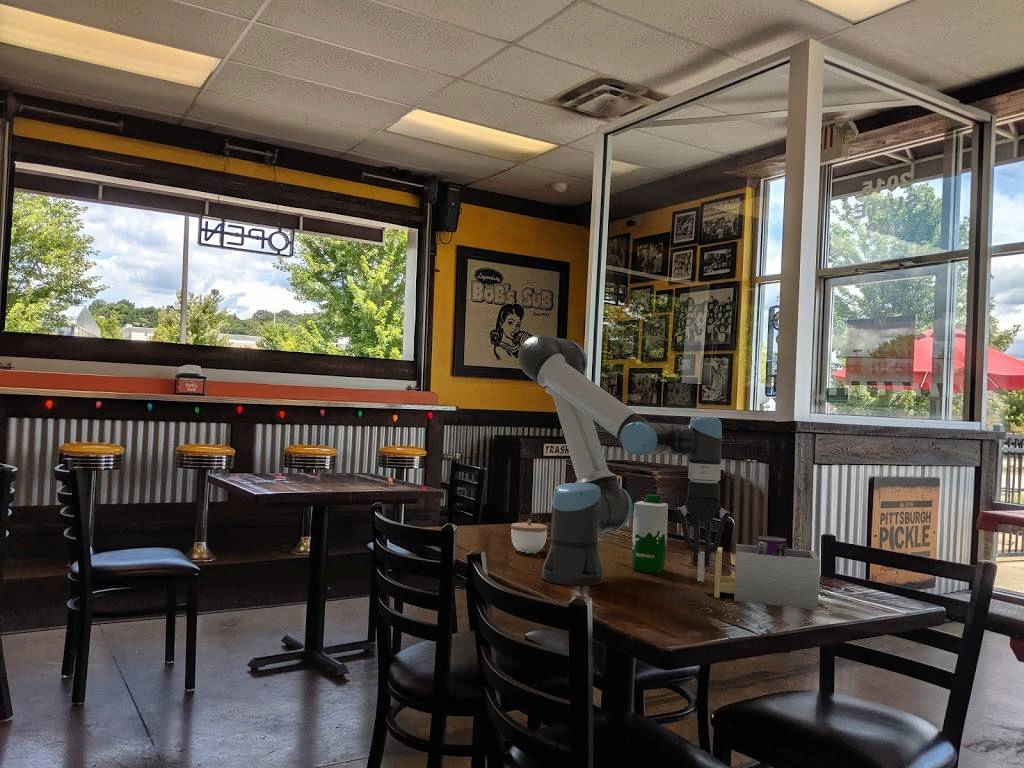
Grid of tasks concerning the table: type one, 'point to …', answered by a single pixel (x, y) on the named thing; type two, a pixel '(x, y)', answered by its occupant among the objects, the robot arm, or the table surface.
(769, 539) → the beverage can
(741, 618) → the table surface
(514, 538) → the lidded jar
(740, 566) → the grey open box
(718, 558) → the rack
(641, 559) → the milk carton
